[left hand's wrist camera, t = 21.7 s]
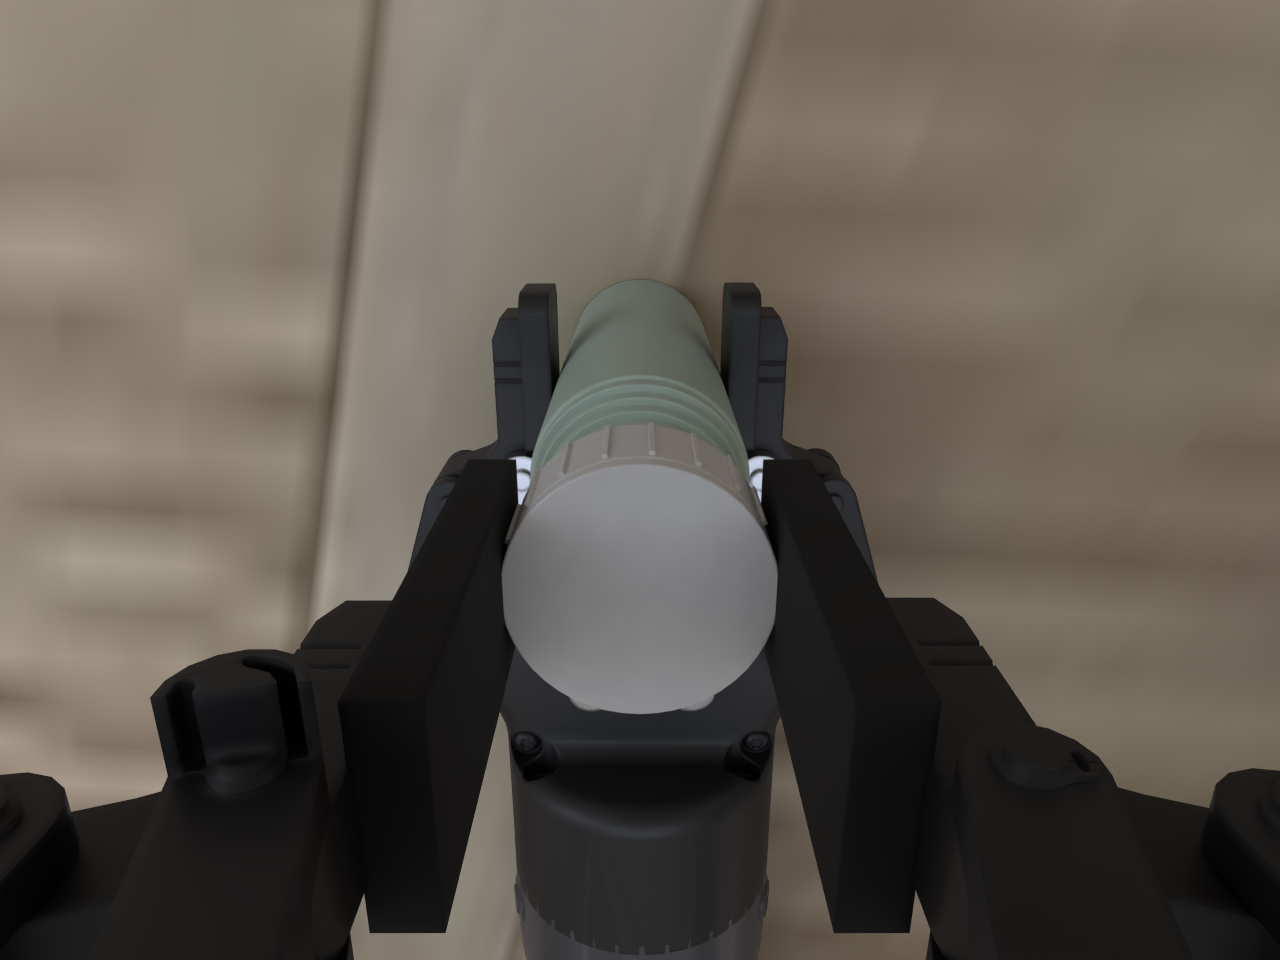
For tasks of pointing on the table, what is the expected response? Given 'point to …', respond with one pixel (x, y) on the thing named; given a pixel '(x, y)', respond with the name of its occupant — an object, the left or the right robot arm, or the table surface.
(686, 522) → the cap
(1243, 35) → the table surface
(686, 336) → the bottle
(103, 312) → the table surface
